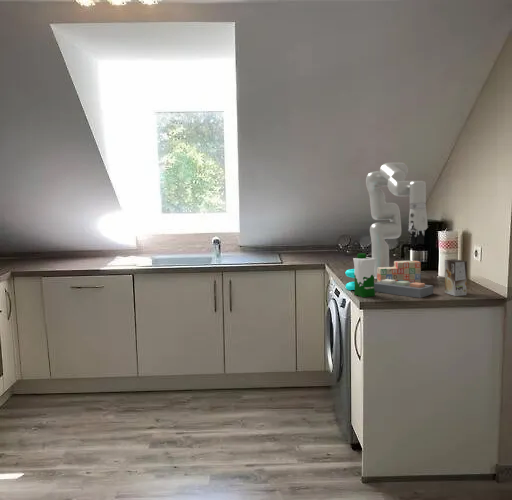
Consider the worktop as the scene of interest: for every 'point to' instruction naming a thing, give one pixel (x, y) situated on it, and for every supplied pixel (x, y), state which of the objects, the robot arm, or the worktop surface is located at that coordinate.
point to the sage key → (402, 283)
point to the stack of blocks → (401, 272)
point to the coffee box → (456, 277)
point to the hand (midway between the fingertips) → (417, 243)
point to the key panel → (403, 289)
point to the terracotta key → (417, 285)
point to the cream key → (388, 281)
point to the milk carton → (364, 275)
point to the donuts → (351, 274)
